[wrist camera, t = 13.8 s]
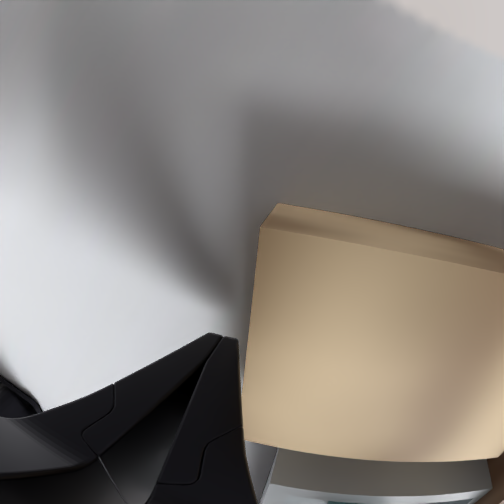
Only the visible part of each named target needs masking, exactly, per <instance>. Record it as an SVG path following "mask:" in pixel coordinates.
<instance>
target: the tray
mask: <svg viewBox="0 0 504 504" xmlns="http://www.w3.org/2000/svg"><path fill="white" fill-rule="evenodd" d="M492 488H493V487H492V482H491V477H490V472H489V468H488V463H487V459H478V460H465V461H447V462H395V461H376V460H363V459H352V458H343V457H334V456H326V455H319V454H313V453H306V452H300V451H294V450H289V449H284V448H279V447H278V449H277V453H276V456H275V459H274V462H273V465H272V468H271V471H270V474H269V477H268V480H267V483H266V486H265V489H264V492H263V494H262V497H261V500H260V503H259V504H328V501H334V502H346V503H362V504H474V503H475V502H477V501H478V500H479V499H480V498H482V497H483V496H484V495H485V494H487V493H488V492H489V491H490V490H491V489H492Z"/></svg>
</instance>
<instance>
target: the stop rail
mask: <svg viewBox="0 0 504 504" xmlns="http://www.w3.org/2000/svg"><path fill="white" fill-rule="evenodd" d="M487 463H488V468H489V472H490V477H491V482H492V487H493V488H492V489H491V490H490V491H489V492H488V493H487V494H485V495H484V496H483V497H482V498H480V499H479V500H478V501H477V502H475V503H474V504H504V451H503V452H502V454H501V455H500V456H499V457H496V458H488V459H487Z"/></svg>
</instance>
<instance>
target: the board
mask: <svg viewBox="0 0 504 504" xmlns="http://www.w3.org/2000/svg"><path fill="white" fill-rule="evenodd" d="M242 414H243V429H244V440H247V441H251V442H255V443H260V444H264V445H269V446H274V447H279V448H284V449H289V450H294V451H300V452H306V453H313V454H319V455H326V456H334V457H343V458H352V459H363V460H376V461H395V462H447V461H465V460H478V459H488V458H496V457H499V456H500V455H501V454H502V452H503V451H504V249H501V248H497V247H493V246H489V245H485V244H481V243H477V242H473V241H469V240H464V239H460V238H456V237H452V236H447V235H443V234H438V233H434V232H429V231H425V230H420V229H416V228H411V227H406V226H401V225H397V224H392V223H387V222H382V221H377V220H371V219H366V218H361V217H356V216H350V215H345V214H340V213H334V212H328V211H323V210H317V209H311V208H305V207H299V206H293V205H287V204H281V203H277V204H276V206H275V207H274V209H273V210H272V211H271V213H270V214H269V215H268V217H267V218H266V219H265V221H264V222H263V223H262V225H261V226H260V232H259V241H258V250H257V260H256V269H255V279H254V288H253V297H252V306H251V316H250V325H249V334H248V343H247V352H246V361H245V370H244V379H243V388H242Z"/></svg>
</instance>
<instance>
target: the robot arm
mask: <svg viewBox="0 0 504 504" xmlns="http://www.w3.org/2000/svg"><path fill="white" fill-rule="evenodd" d="M0 504H258V502H257V499H256V495H255V491H254V488H253V484H252V480H251V476H250V472H249V467H248V463H247V458H246V450H245V442H244V429H243V414H242V397H241V380H240V363H239V344H238V340H237V339H235V338H231V337H227V336H225V337H223V336H222V335H219V334H215V333H207V334H205V335H203V336H201V337H200V338H198V339H196V340H194V341H192V342H191V343H189V344H187V345H185V346H183V347H181V348H180V349H178V350H176V351H174V352H172V353H170V354H168V355H167V356H165V357H163V358H161V359H159V360H157V361H155V362H153V363H152V364H150V365H148V366H146V367H144V368H142V369H140V370H138V371H136V372H134V373H132V374H131V375H129V376H127V377H125V378H123V379H121V380H119V381H117V382H115V383H114V384H111V385H109V386H107V387H105V388H103V389H101V390H98V391H96V392H94V393H92V394H90V395H88V396H85V397H83V398H80V399H78V400H75V401H73V402H70V403H67V404H64V405H62V406H59V407H56V408H53V409H50V410H47V411H44V412H41V410H40V408H39V406H38V405H37V403H36V402H35V401H34V400H32V399H31V398H30V397H28V396H27V395H25V394H24V393H22V392H21V391H20V390H18V389H17V388H15V387H14V386H13V385H11V384H10V383H9V382H7V381H6V380H5V379H3V378H2V377H1V376H0Z"/></svg>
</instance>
